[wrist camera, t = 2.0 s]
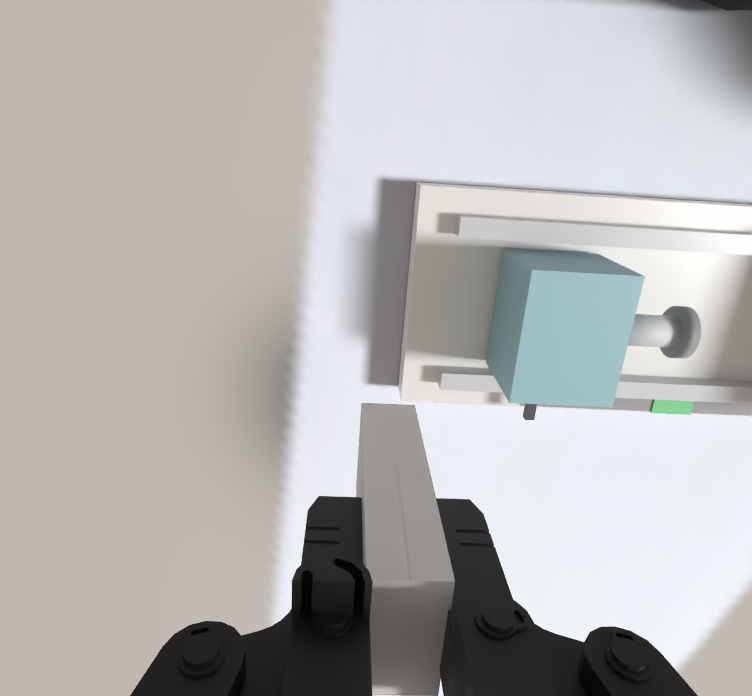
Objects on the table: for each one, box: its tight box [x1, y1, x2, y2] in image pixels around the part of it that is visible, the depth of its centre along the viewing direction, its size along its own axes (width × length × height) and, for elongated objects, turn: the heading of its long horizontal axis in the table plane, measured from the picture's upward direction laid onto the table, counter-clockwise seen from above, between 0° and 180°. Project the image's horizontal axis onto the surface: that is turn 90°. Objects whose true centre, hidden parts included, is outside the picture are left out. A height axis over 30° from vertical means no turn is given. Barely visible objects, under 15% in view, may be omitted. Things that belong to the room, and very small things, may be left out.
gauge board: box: [398, 182, 752, 416], centre depth 27 cm, size 12×29×10 cm, turn 86°
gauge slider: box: [486, 248, 701, 420], centre depth 27 cm, size 9×9×5 cm
